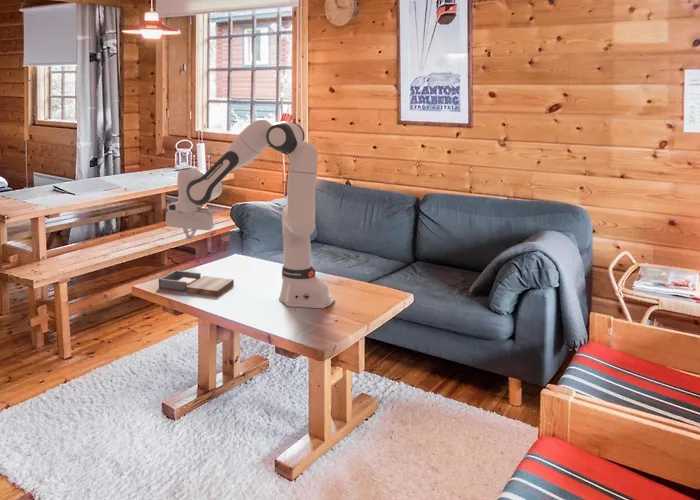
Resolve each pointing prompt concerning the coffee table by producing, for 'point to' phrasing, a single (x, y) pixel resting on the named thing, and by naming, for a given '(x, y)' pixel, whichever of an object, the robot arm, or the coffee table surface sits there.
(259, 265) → the coffee table surface
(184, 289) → the box
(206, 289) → the board
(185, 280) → the tile
